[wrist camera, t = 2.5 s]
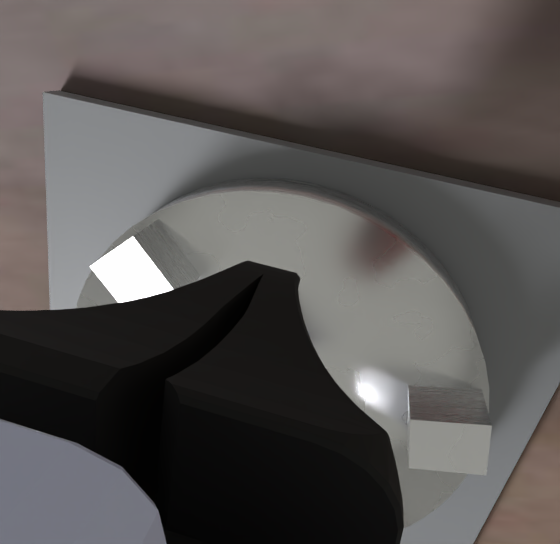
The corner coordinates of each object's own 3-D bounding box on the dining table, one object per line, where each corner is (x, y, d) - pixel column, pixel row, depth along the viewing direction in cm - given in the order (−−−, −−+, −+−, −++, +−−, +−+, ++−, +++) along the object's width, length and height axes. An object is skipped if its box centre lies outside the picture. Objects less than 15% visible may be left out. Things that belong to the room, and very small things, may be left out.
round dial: (409, 550, 23) (413, 637, 19) (96, 452, 24) (49, 515, 21) (551, 238, 16) (595, 287, 12) (101, 134, 18) (33, 152, 14)
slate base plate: (453, 557, 24) (456, 580, 23) (66, 436, 26) (52, 452, 25) (629, 217, 16) (646, 228, 15) (59, 90, 19) (39, 92, 18)
